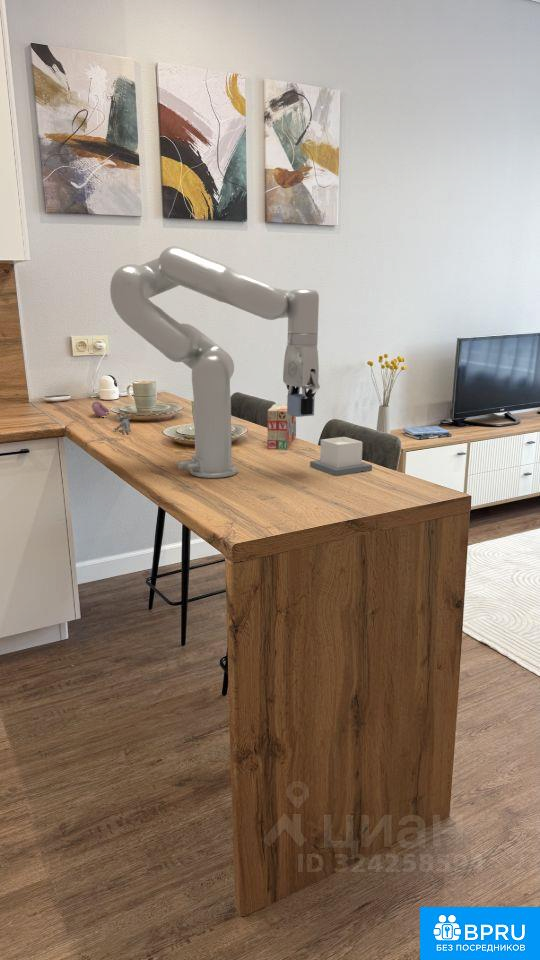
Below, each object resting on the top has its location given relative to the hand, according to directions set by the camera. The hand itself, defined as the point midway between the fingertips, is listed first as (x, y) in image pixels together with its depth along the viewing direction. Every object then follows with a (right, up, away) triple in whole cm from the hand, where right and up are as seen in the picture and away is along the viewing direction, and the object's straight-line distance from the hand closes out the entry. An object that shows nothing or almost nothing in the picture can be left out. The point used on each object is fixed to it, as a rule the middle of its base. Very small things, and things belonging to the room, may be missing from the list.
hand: (300, 411), depth 179 cm
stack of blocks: (-4, -6, +44) cm, 45 cm away
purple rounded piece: (-74, +7, +92) cm, 118 cm away
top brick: (0, -1, 0) cm, 1 cm away
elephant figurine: (-57, -1, +60) cm, 83 cm away
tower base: (+11, -14, +11) cm, 21 cm away
